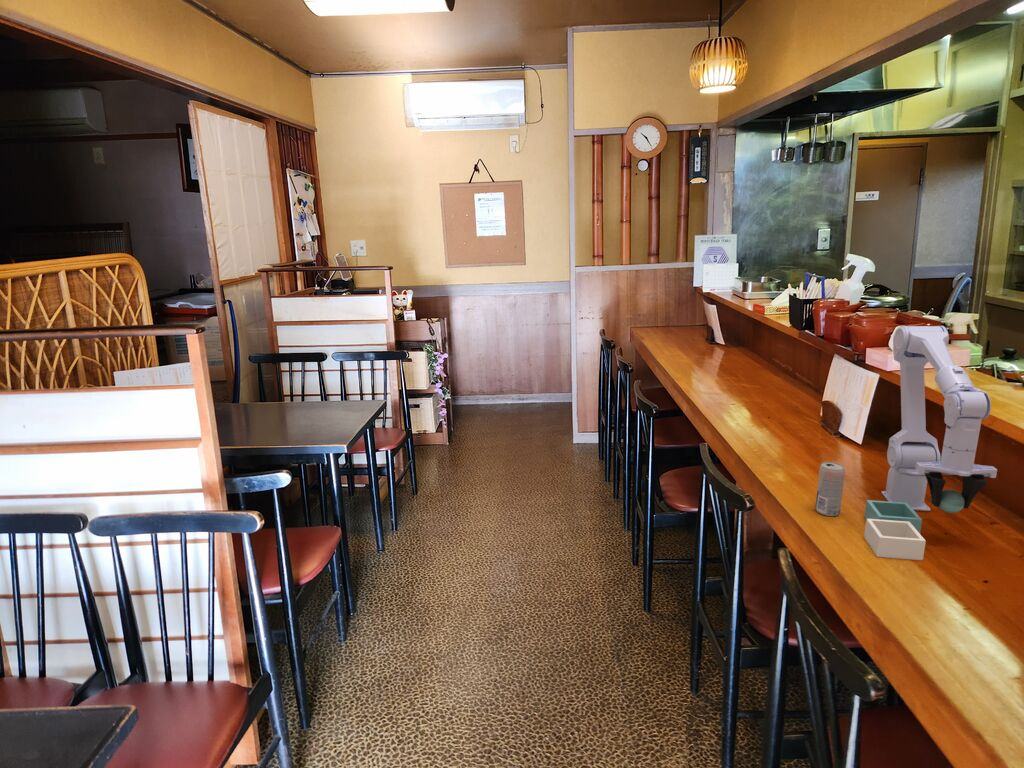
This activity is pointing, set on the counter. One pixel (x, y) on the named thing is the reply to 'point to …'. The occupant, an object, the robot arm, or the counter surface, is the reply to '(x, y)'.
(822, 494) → the energy drink
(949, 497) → the teal ball
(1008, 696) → the counter surface
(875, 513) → the teal open square box
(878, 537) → the shallow white tray
